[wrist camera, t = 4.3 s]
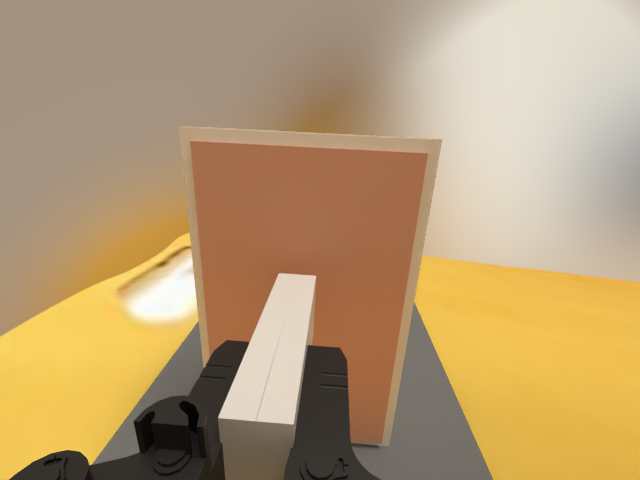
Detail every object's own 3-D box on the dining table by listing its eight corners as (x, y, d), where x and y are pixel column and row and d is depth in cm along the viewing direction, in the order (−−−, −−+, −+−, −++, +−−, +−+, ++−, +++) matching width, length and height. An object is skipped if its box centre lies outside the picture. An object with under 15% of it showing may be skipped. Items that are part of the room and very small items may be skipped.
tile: (381, 401, 20) (421, 138, 14) (389, 451, 16) (444, 139, 11) (228, 388, 20) (209, 127, 15) (208, 434, 17) (175, 126, 11)
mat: (400, 278, 38) (401, 273, 38) (514, 543, 13) (517, 535, 13) (242, 267, 39) (241, 263, 38) (75, 499, 14) (72, 490, 14)
